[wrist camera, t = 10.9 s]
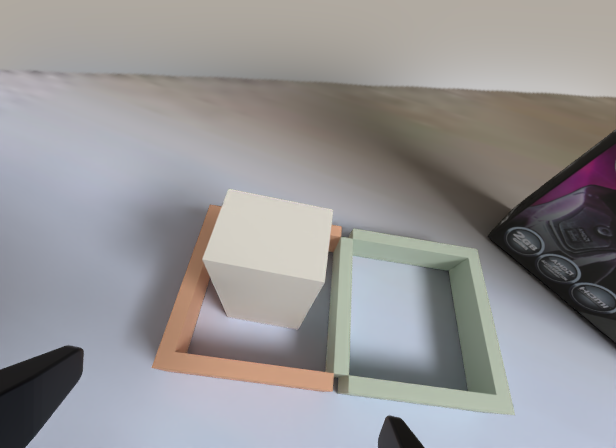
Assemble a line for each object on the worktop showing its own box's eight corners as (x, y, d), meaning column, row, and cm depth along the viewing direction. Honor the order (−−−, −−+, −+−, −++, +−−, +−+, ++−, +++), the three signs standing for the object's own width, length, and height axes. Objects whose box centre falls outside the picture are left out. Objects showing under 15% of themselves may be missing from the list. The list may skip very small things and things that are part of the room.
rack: (166, 371, 19) (151, 367, 17) (215, 223, 26) (209, 204, 23) (484, 412, 21) (514, 415, 18) (456, 262, 27) (477, 249, 25)
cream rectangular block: (298, 329, 22) (324, 282, 13) (227, 317, 22) (202, 259, 12) (305, 281, 24) (333, 209, 15) (241, 269, 24) (228, 188, 15)
